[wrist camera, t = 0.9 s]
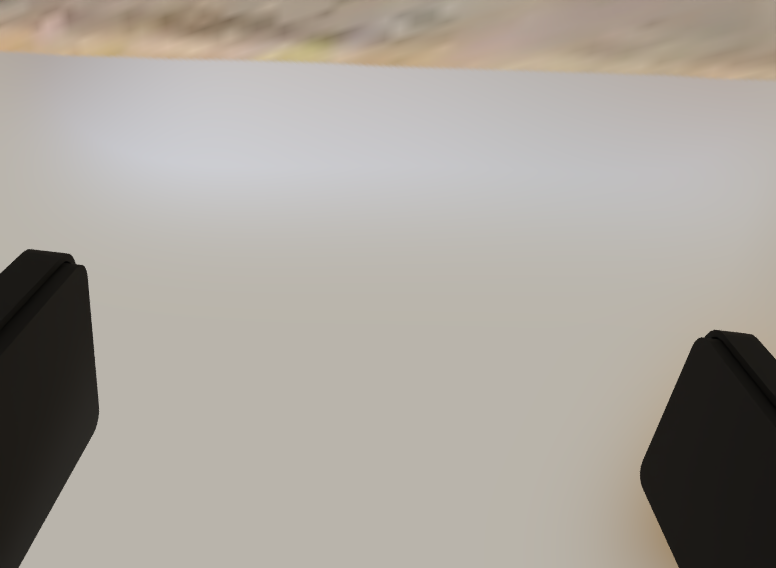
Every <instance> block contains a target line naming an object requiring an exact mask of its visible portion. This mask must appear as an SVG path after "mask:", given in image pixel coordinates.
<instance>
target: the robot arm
mask: <svg viewBox="0 0 776 568" xmlns="http://www.w3.org/2000/svg"><path fill="white" fill-rule="evenodd" d="M98 415H99V403H98V391H97V379H96V368H95V357H94V345H93V333H92V322H91V312H90V299H89V288H88V276H87V271H86V268H85V267H84V266H83V265H77V264H75V261H74V259H73V257H72V256H71V255H70V254H67V253H57V252H49V251H40V250H32V249H28V250H26V251H24V252H23V253H22V254H21V255H20V256H19V257H17V258H16V259H15V260H14V261H13V262H12V263H11V264H10V265H9V266H8V267H7V268H6V269H5V270H4V271H3V272H2V273H0V568H19V566H20V564H21V562H22V560H23V559H24V557H25V555H26V553H27V552H28V550H29V548H30V546H31V544H32V543H33V541H34V539H35V537H36V535H37V533H38V532H39V530H40V528H41V526H42V524H43V523H44V521H45V519H46V518H47V516H48V514H49V512H50V510H51V509H52V507H53V505H54V503H55V501H56V500H57V498H58V496H59V494H60V492H61V491H62V489H63V487H64V485H65V484H66V482H67V480H68V478H69V476H70V475H71V473H72V471H73V469H74V467H75V465H76V464H77V462H78V460H79V458H80V457H81V455H82V453H83V451H84V450H85V448H86V446H87V444H88V442H89V441H90V439H91V437H92V435H93V433H94V431H95V429H96V425H97V422H98ZM640 480H641V485H642V488H643V490H644V492H645V494H646V497H647V499H648V501H649V503H650V505H651V507H652V510H653V512H654V514H655V516H656V518H657V521H658V523H659V525H660V527H661V529H662V532H663V534H664V536H665V538H666V540H667V543H668V545H669V547H670V549H671V551H672V553H673V556H674V557H675V560H676V562H677V564H678V567H679V568H776V359H775V358H774V357H773V356H772V355H771V353H770V352H769V351H768V350H767V349H766V348H765V347H764V346H763V344H762V343H761V342H760V341H759V340H758V339H757V338H756V337H755V336H753V335H752V334H746V333H737V332H728V331H720V330H713V331H710V332H709V333H708V334H707V335H706V336H705V338H702V337H701V338H699V339H697V340H696V341H695V342H694V344H693V346H692V348H691V351H690V353H689V355H688V358H687V360H686V362H685V364H684V367H683V369H682V372H681V374H680V376H679V378H678V381H677V383H676V385H675V388H674V390H673V392H672V394H671V397H670V399H669V402H668V404H667V406H666V409H665V411H664V413H663V415H662V418H661V420H660V422H659V425H658V427H657V429H656V432H655V434H654V436H653V438H652V441H651V443H650V445H649V448H648V450H647V452H646V455H645V457H644V459H643V462H642V465H641V470H640Z"/></svg>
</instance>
